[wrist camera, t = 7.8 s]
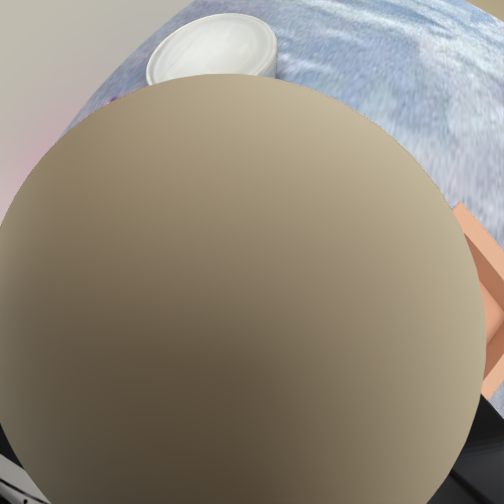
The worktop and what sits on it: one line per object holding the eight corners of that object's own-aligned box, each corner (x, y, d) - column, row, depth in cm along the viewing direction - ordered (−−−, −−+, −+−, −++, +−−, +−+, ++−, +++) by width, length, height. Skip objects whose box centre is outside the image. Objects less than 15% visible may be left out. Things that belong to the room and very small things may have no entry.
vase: (284, 393, 14) (177, 615, 1) (214, 320, 15) (-47, 312, 3) (360, 321, 14) (568, 339, 1) (286, 248, 15) (189, 20, 3)
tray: (436, 422, 18) (453, 437, 14) (344, 324, 20) (351, 327, 17) (521, 314, 17) (546, 313, 14) (441, 216, 20) (460, 201, 17)
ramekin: (174, 60, 28) (155, 28, 23) (279, 42, 26) (272, 3, 21) (162, 146, 26) (134, 115, 21) (289, 128, 24) (282, 87, 19)
